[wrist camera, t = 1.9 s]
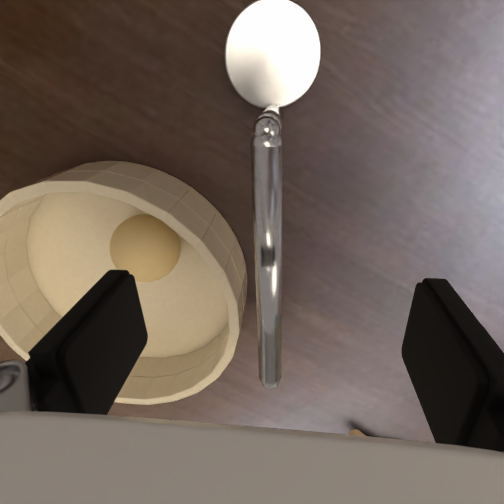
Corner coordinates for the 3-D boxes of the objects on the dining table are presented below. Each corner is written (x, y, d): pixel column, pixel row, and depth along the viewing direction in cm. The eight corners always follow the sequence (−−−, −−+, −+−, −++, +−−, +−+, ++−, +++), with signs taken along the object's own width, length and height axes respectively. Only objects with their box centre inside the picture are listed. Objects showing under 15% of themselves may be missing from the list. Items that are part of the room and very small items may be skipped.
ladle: (227, 7, 16) (186, -39, 9) (321, 1, 15) (343, -52, 9) (245, 311, 24) (229, 394, 18) (305, 313, 24) (311, 399, 17)
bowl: (-13, 162, 21) (-84, 182, 17) (241, 158, 19) (228, 179, 15) (64, 352, 28) (28, 397, 24) (251, 362, 27) (245, 411, 23)
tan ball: (121, 204, 21) (87, 230, 17) (184, 204, 20) (161, 231, 17) (134, 260, 22) (105, 294, 19) (191, 261, 22) (173, 296, 18)
